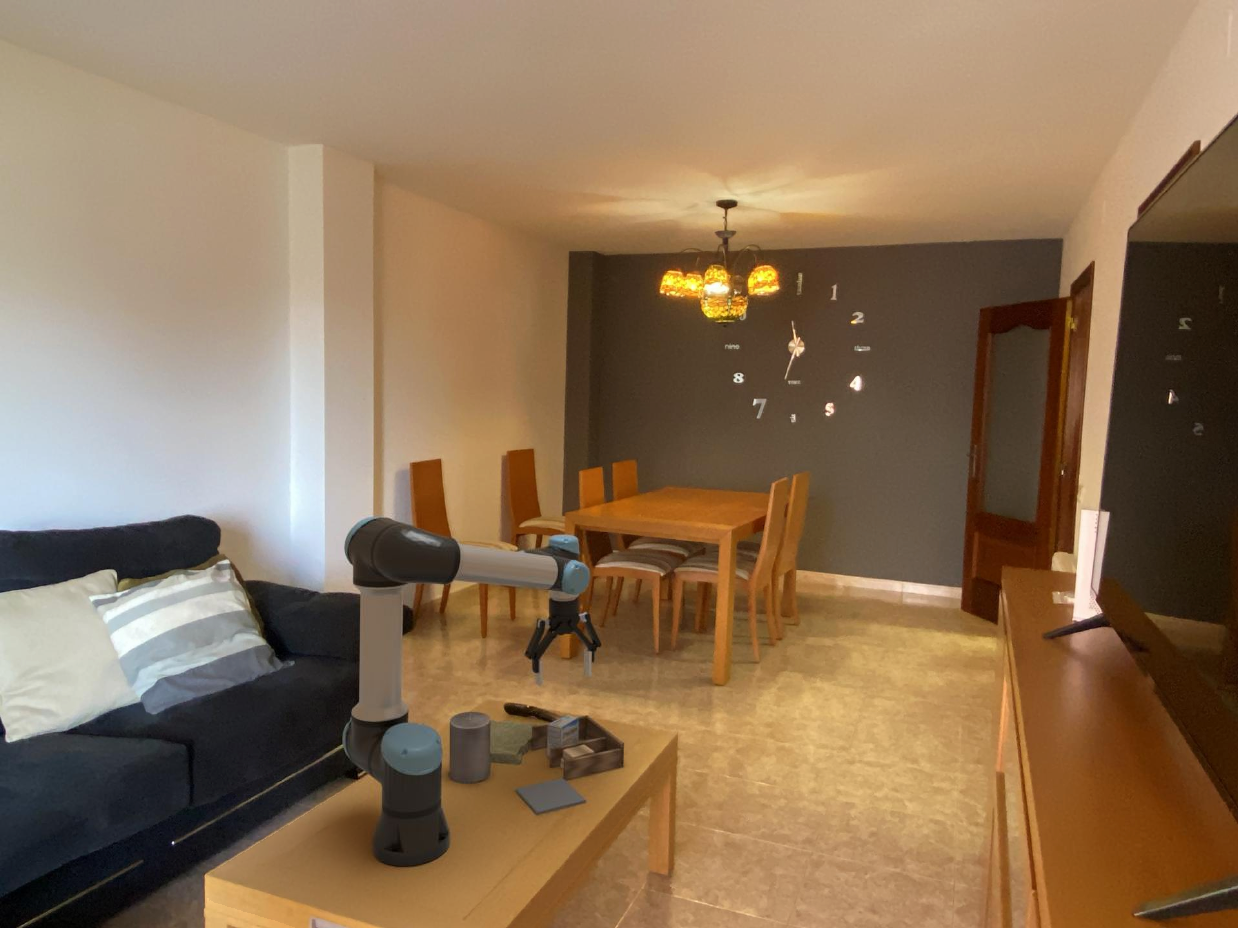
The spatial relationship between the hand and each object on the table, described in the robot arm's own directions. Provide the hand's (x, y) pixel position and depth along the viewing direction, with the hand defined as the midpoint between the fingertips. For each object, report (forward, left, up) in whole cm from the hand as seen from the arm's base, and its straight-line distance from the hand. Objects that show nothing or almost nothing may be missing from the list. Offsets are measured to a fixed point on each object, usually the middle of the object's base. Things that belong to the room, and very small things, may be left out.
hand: (563, 679), depth 210 cm
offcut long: (+1, -8, -20) cm, 22 cm away
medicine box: (+1, +1, -20) cm, 20 cm away
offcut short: (0, -9, -18) cm, 20 cm away
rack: (+3, -3, -20) cm, 20 cm away
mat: (-12, -18, -20) cm, 29 cm away
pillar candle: (-24, 0, -20) cm, 31 cm away
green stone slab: (-12, +12, -20) cm, 27 cm away
